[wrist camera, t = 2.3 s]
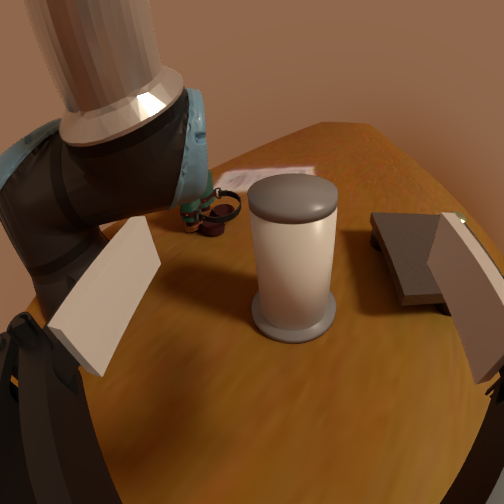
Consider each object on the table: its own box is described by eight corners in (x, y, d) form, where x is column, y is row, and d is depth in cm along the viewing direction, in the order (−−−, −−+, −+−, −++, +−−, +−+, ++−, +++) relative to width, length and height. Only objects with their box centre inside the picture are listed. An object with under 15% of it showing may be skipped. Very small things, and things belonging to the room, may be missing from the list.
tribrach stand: (394, 321, 26) (406, 289, 23) (367, 235, 38) (371, 207, 35) (496, 310, 23) (512, 282, 20) (453, 237, 35) (461, 211, 33)
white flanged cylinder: (246, 342, 26) (222, 220, 18) (257, 280, 33) (244, 171, 25) (338, 343, 25) (362, 219, 16) (331, 280, 32) (340, 169, 23)
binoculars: (228, 180, 34) (163, 174, 37) (231, 245, 41) (174, 234, 43) (249, 158, 41) (192, 154, 43) (249, 215, 48) (198, 207, 50)
